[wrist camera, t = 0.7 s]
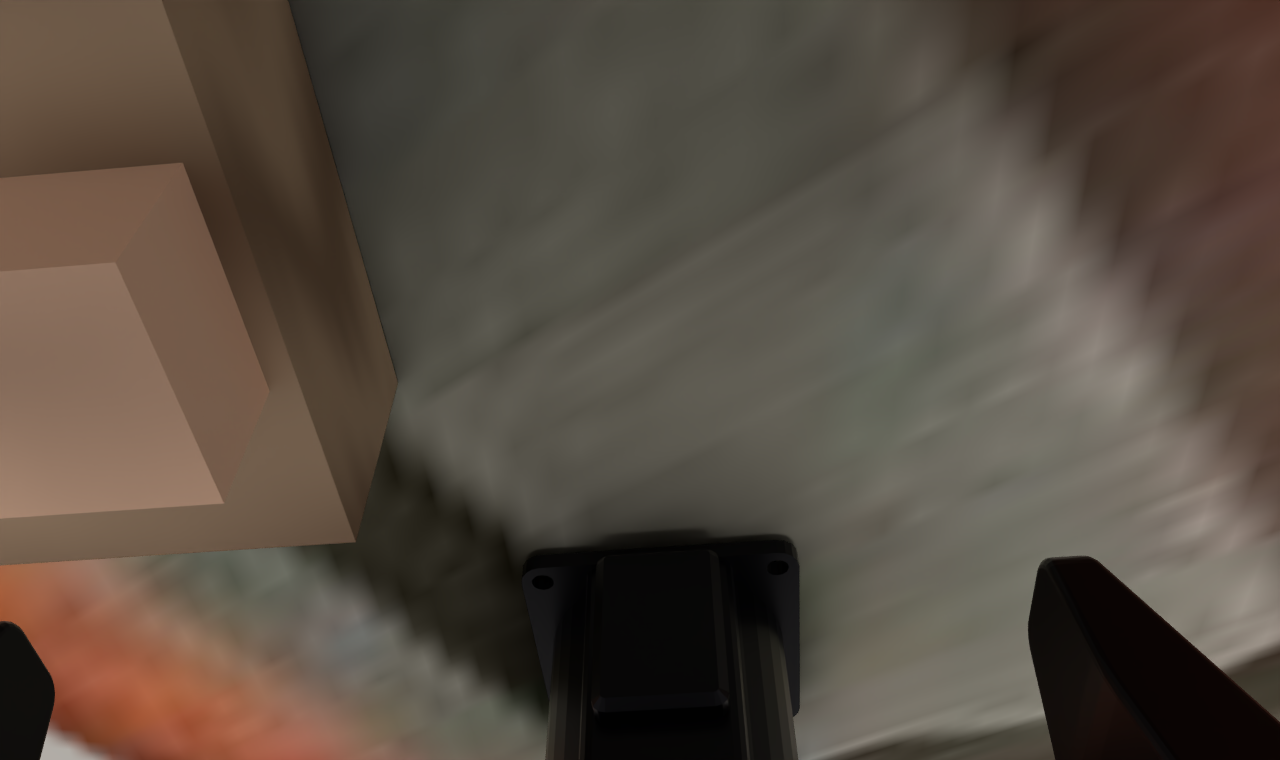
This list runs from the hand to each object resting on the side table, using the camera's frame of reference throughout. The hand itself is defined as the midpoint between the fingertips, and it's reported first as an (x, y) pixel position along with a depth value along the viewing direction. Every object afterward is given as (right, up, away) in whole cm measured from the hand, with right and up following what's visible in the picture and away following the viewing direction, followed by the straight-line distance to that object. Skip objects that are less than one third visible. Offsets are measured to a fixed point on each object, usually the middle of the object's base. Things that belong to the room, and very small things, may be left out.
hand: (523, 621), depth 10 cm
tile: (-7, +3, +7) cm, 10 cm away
